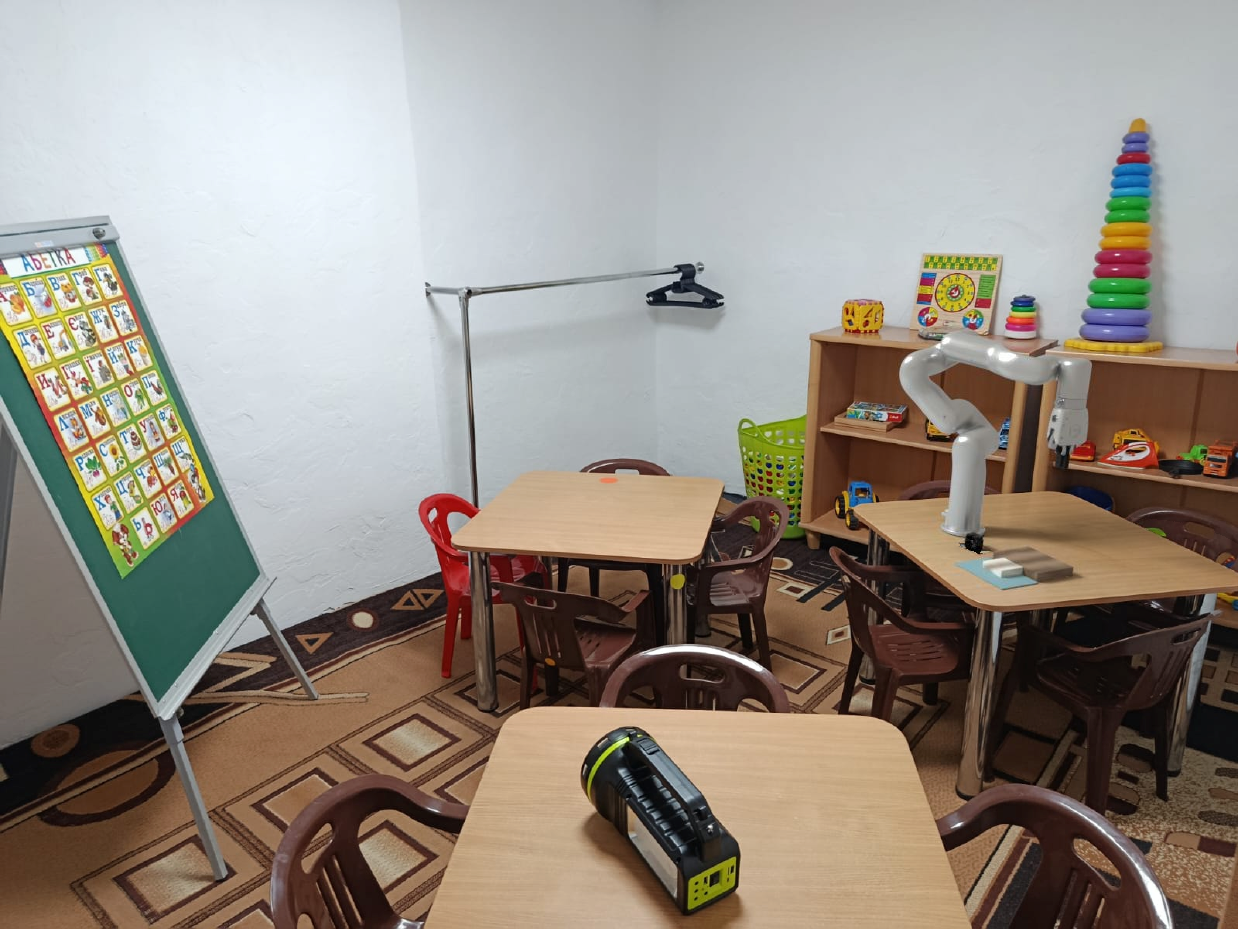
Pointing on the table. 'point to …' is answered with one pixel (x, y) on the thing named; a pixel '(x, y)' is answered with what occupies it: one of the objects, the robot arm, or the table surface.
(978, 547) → the black irregular piece
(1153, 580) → the table surface
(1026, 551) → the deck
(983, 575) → the mat
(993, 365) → the robot arm
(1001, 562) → the tile
